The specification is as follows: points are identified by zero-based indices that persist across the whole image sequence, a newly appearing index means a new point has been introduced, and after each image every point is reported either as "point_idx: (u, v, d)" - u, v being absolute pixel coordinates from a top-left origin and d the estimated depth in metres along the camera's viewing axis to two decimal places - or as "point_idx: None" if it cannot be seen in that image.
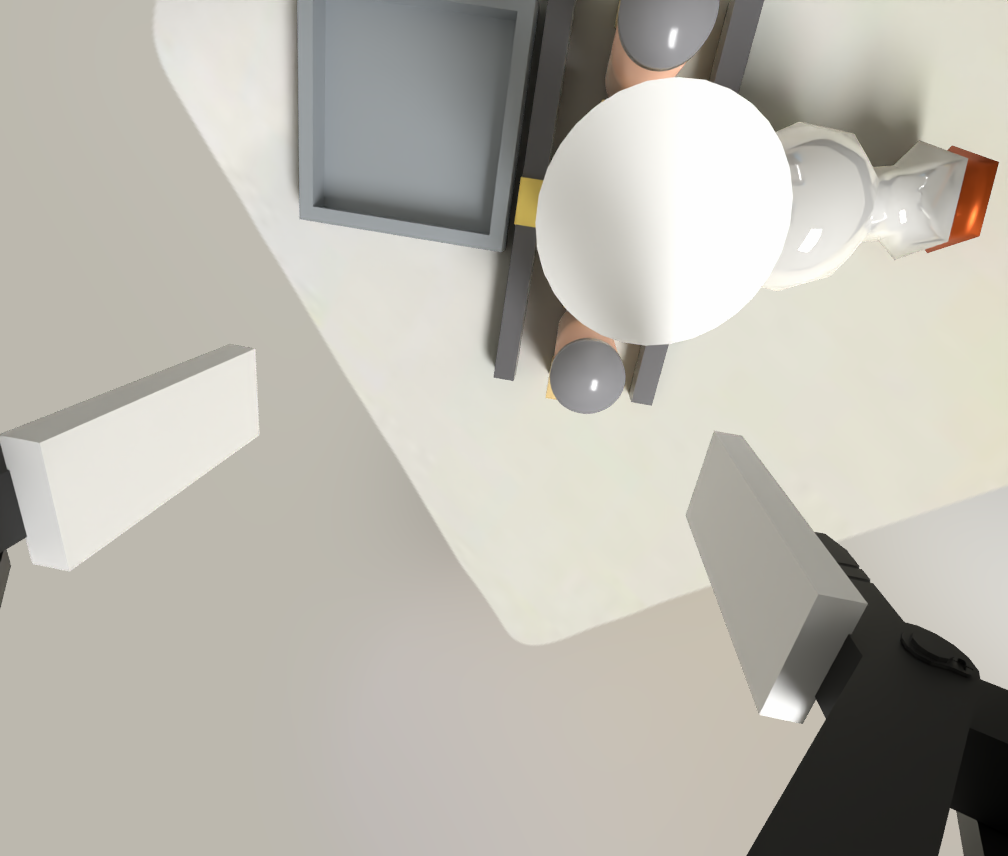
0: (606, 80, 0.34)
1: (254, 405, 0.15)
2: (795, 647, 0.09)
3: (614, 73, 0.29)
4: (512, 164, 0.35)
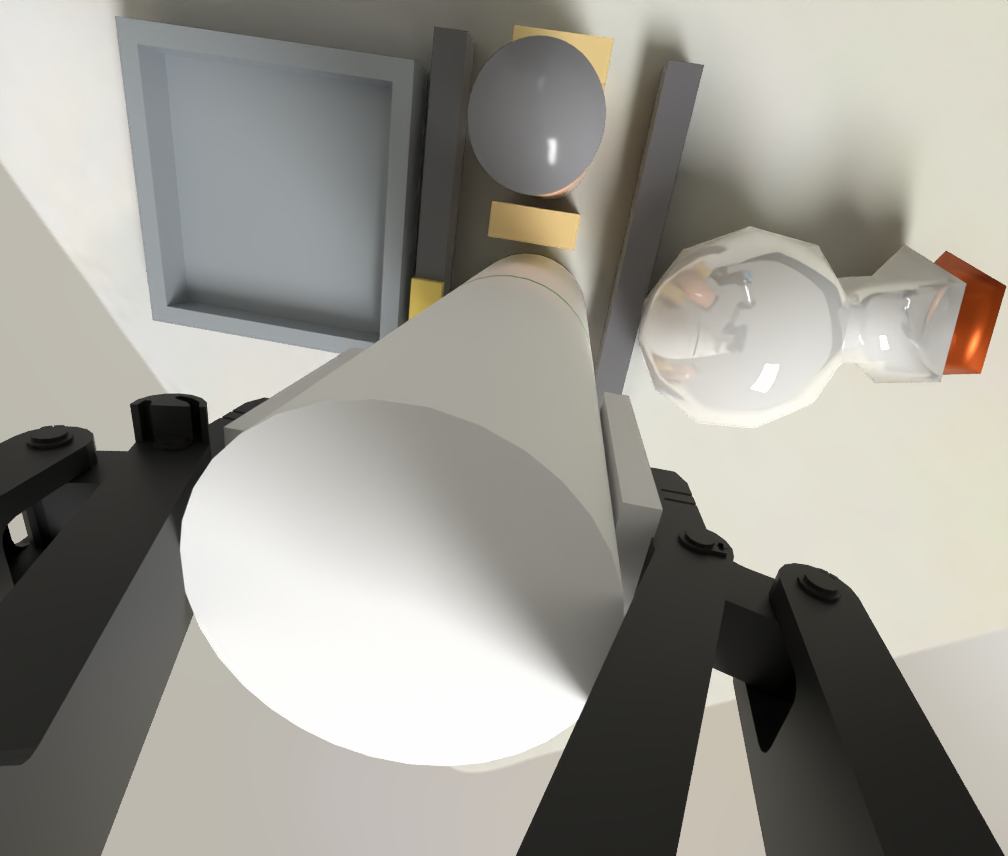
0: None
1: None
2: None
3: None
4: (400, 263, 0.28)
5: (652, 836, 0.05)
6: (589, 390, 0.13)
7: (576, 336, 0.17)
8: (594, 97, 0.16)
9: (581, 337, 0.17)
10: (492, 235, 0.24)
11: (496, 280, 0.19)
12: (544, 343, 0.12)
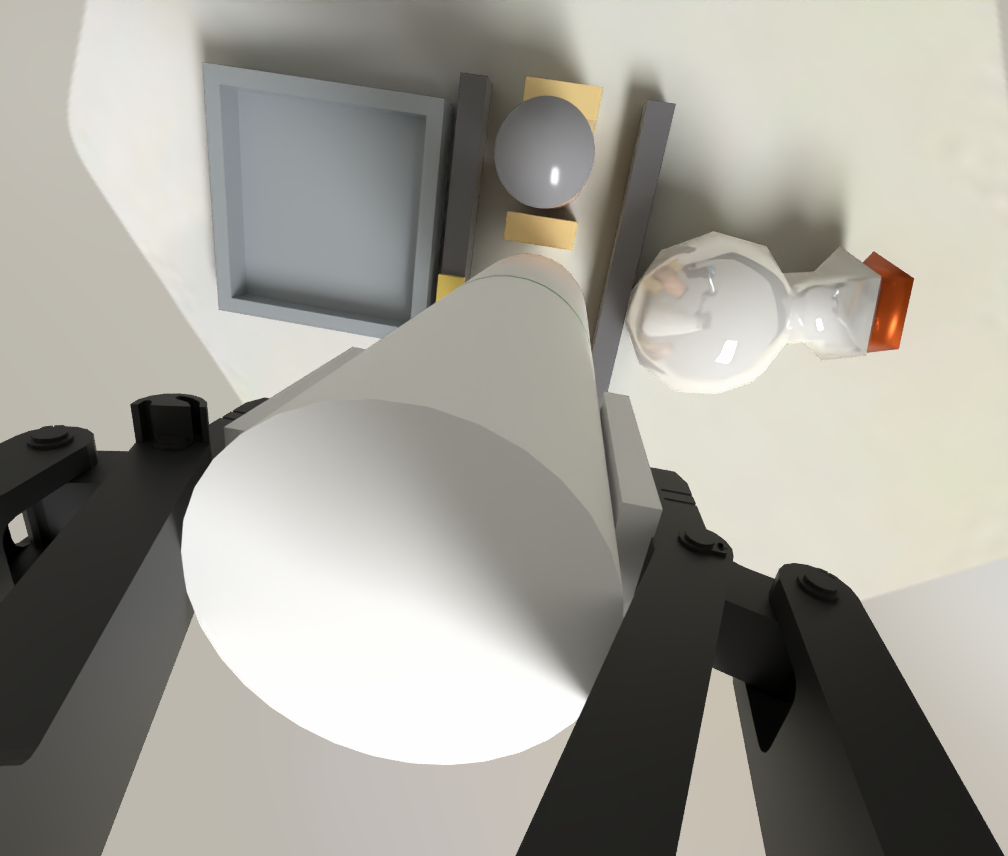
0: None
1: None
2: None
3: None
4: (429, 261, 0.34)
5: (652, 836, 0.05)
6: (589, 390, 0.13)
7: (576, 336, 0.17)
8: (586, 139, 0.22)
9: (581, 337, 0.17)
10: (507, 238, 0.30)
11: (496, 280, 0.19)
12: (544, 343, 0.12)
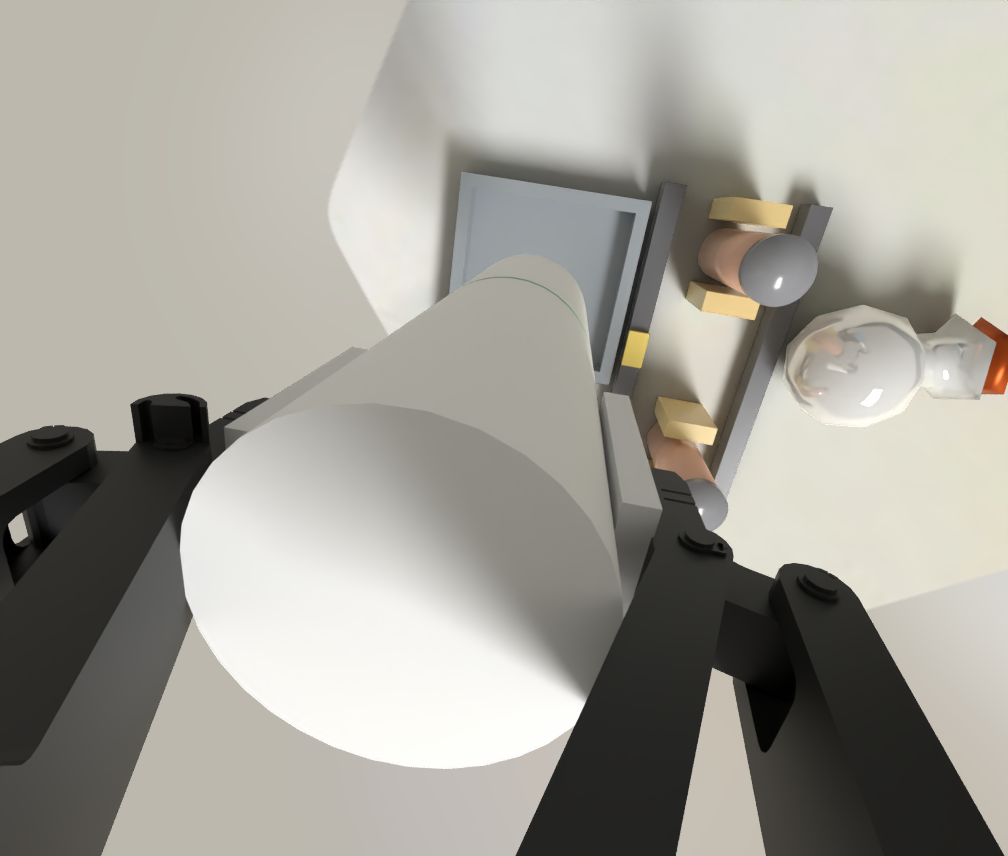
0: (702, 260, 0.42)
1: None
2: None
3: (718, 274, 0.38)
4: (623, 321, 0.44)
5: (652, 836, 0.05)
6: (589, 392, 0.13)
7: (576, 338, 0.17)
8: (812, 262, 0.31)
9: (581, 339, 0.17)
10: (704, 310, 0.39)
11: (496, 282, 0.19)
12: (544, 345, 0.12)
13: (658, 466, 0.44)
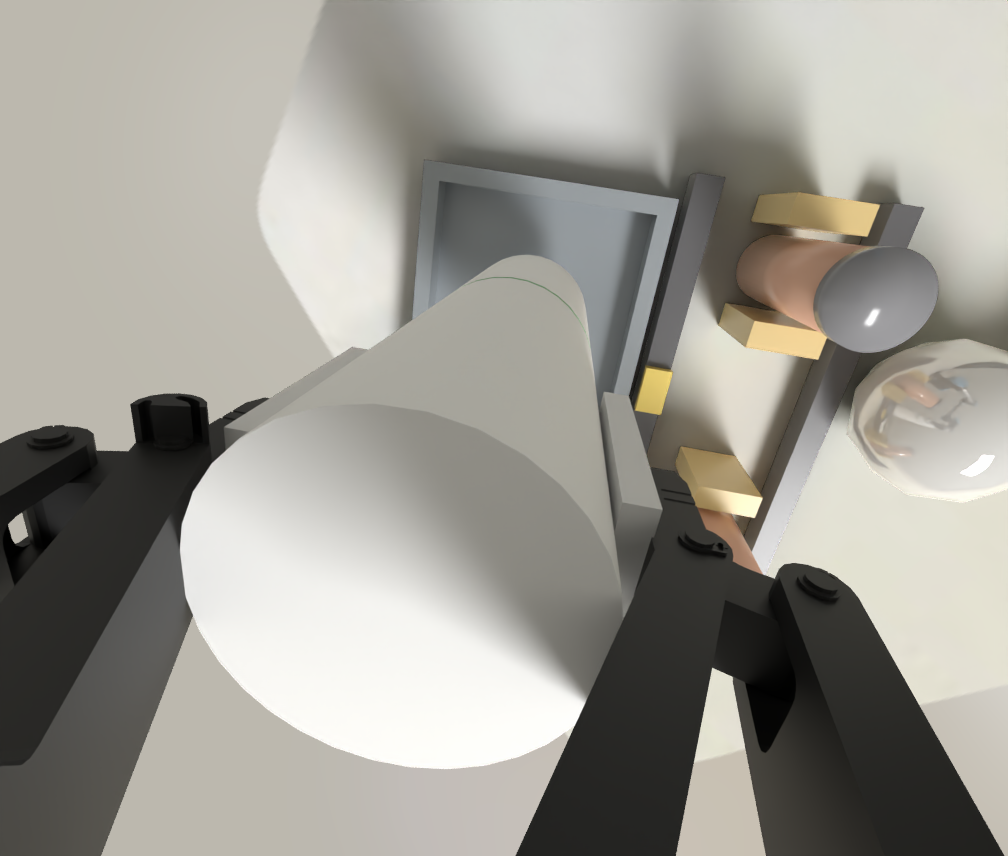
0: (742, 277, 0.32)
1: None
2: None
3: (771, 298, 0.28)
4: (638, 355, 0.34)
5: (652, 836, 0.05)
6: (589, 392, 0.13)
7: (576, 338, 0.17)
8: (930, 289, 0.21)
9: (581, 339, 0.17)
10: (749, 346, 0.29)
11: (496, 282, 0.19)
12: (544, 346, 0.12)
13: None
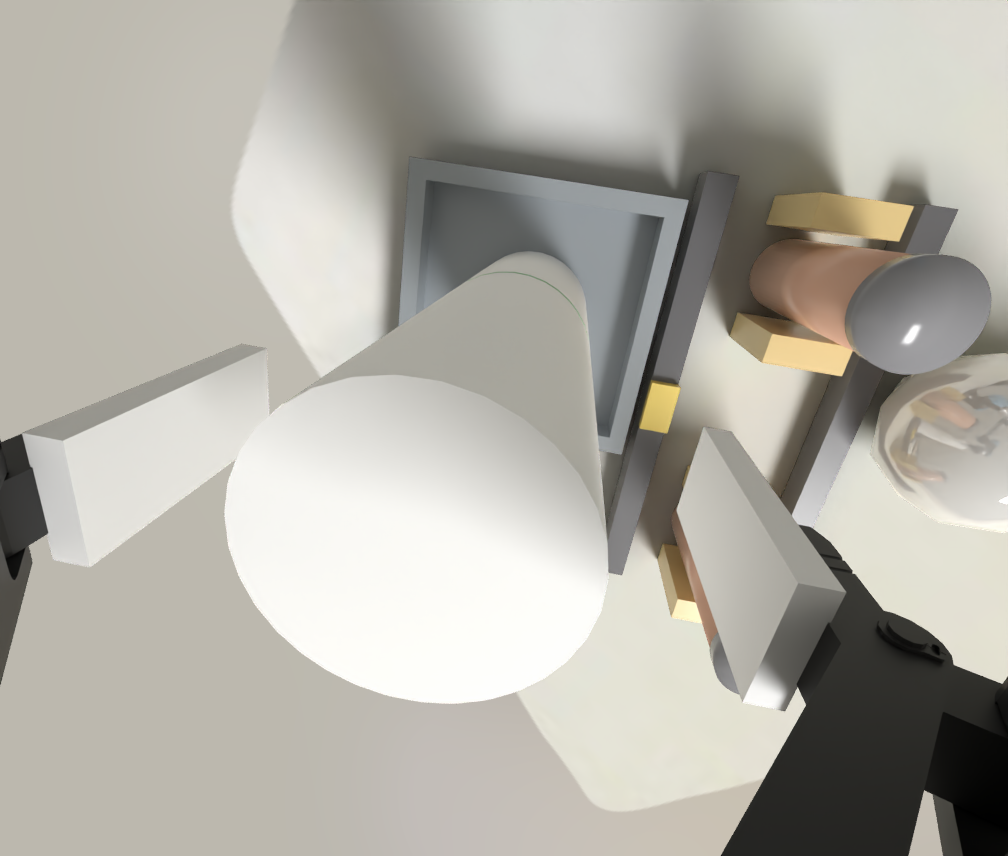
0: (757, 285, 0.29)
1: (265, 404, 0.15)
2: (776, 635, 0.09)
3: (791, 309, 0.25)
4: (643, 369, 0.31)
5: None
6: (584, 376, 0.14)
7: (574, 328, 0.18)
8: (981, 303, 0.18)
9: (579, 329, 0.19)
10: (766, 362, 0.27)
11: (500, 276, 0.20)
12: (543, 333, 0.14)
13: (693, 575, 0.31)
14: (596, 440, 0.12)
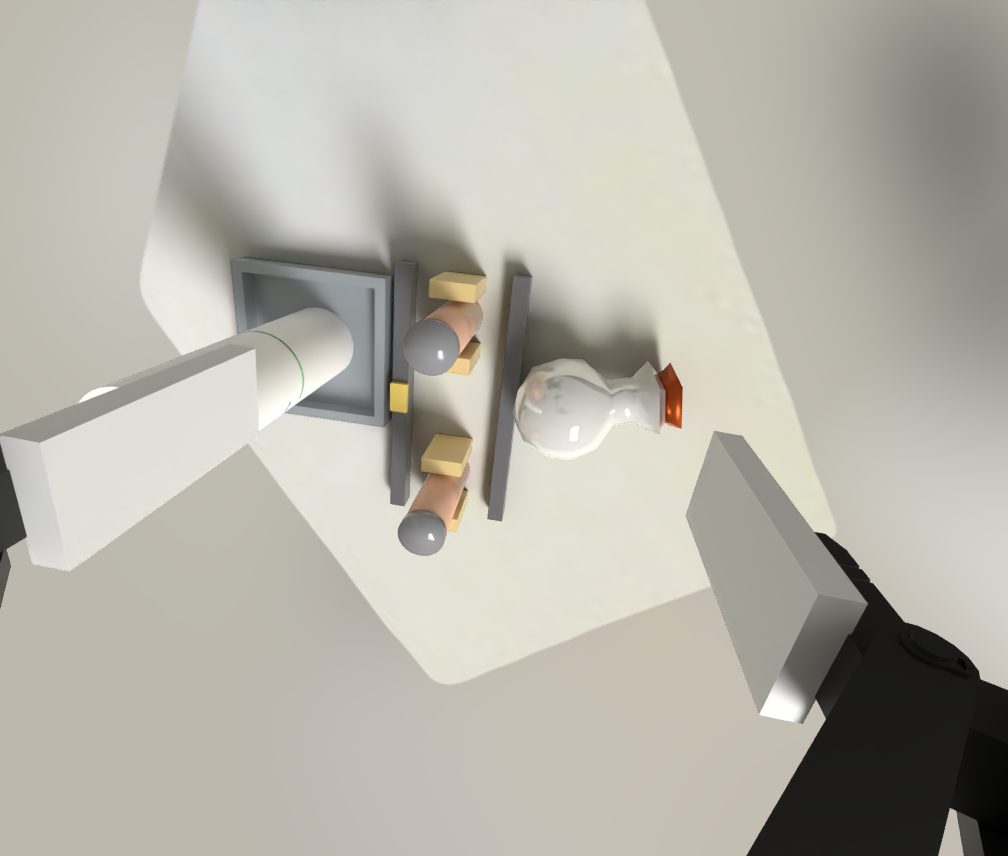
0: None
1: (254, 405, 0.15)
2: (795, 647, 0.09)
3: None
4: (383, 375, 0.52)
5: None
6: None
7: (262, 360, 0.39)
8: (452, 341, 0.39)
9: (271, 360, 0.40)
10: None
11: (241, 335, 0.41)
12: None
13: None
14: None
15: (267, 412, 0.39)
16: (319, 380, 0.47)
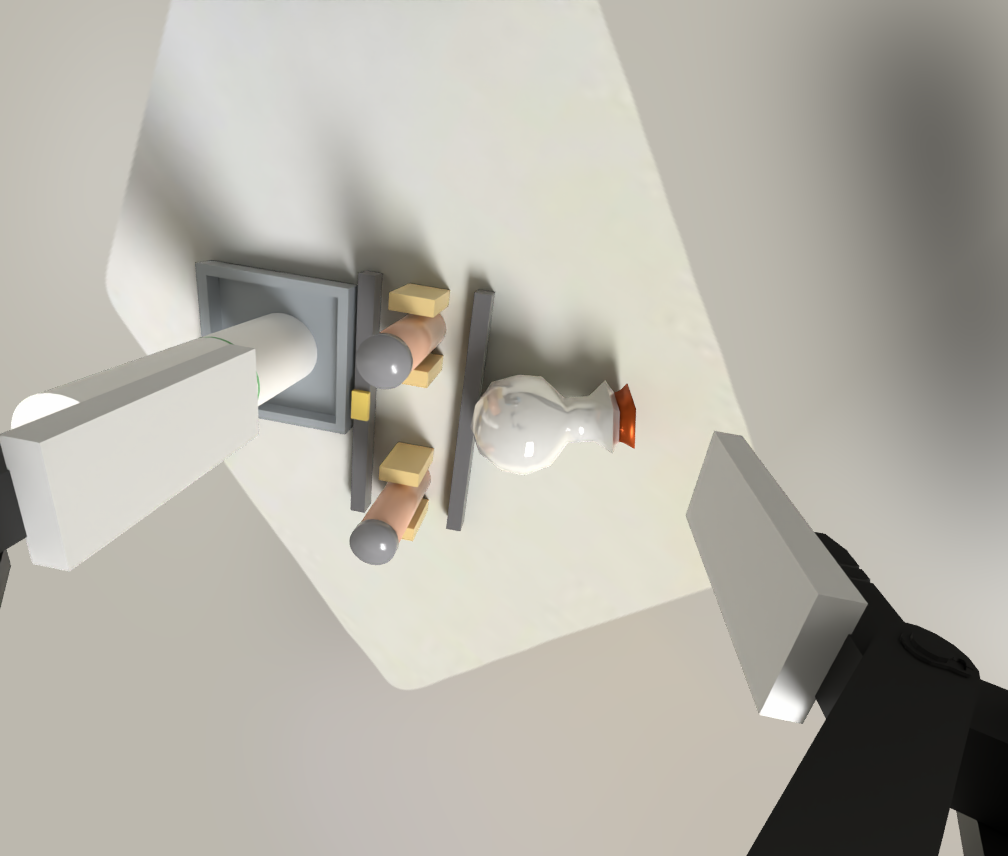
0: None
1: (254, 405, 0.15)
2: (795, 647, 0.09)
3: None
4: (345, 382, 0.52)
5: None
6: None
7: None
8: (404, 356, 0.39)
9: None
10: None
11: (196, 341, 0.41)
12: None
13: None
14: None
15: None
16: (277, 387, 0.47)
